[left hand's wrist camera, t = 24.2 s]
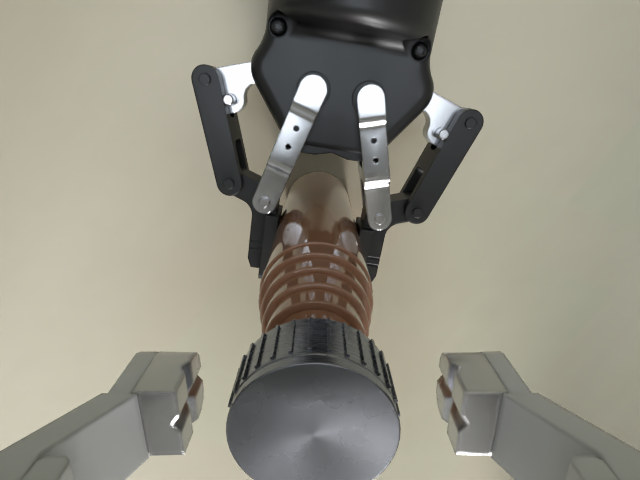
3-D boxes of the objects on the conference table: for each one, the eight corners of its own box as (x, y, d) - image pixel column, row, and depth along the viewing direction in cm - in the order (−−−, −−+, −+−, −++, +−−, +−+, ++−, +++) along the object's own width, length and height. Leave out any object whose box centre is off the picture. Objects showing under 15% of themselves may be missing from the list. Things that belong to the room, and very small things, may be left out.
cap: (248, 303, 10) (233, 346, 8) (406, 328, 10) (424, 376, 8) (231, 427, 11) (215, 488, 9) (371, 447, 11) (380, 509, 10)
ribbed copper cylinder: (285, 228, 29) (224, 472, 10) (289, 168, 27) (224, 328, 9) (345, 232, 29) (389, 482, 10) (351, 173, 27) (416, 342, 9)
